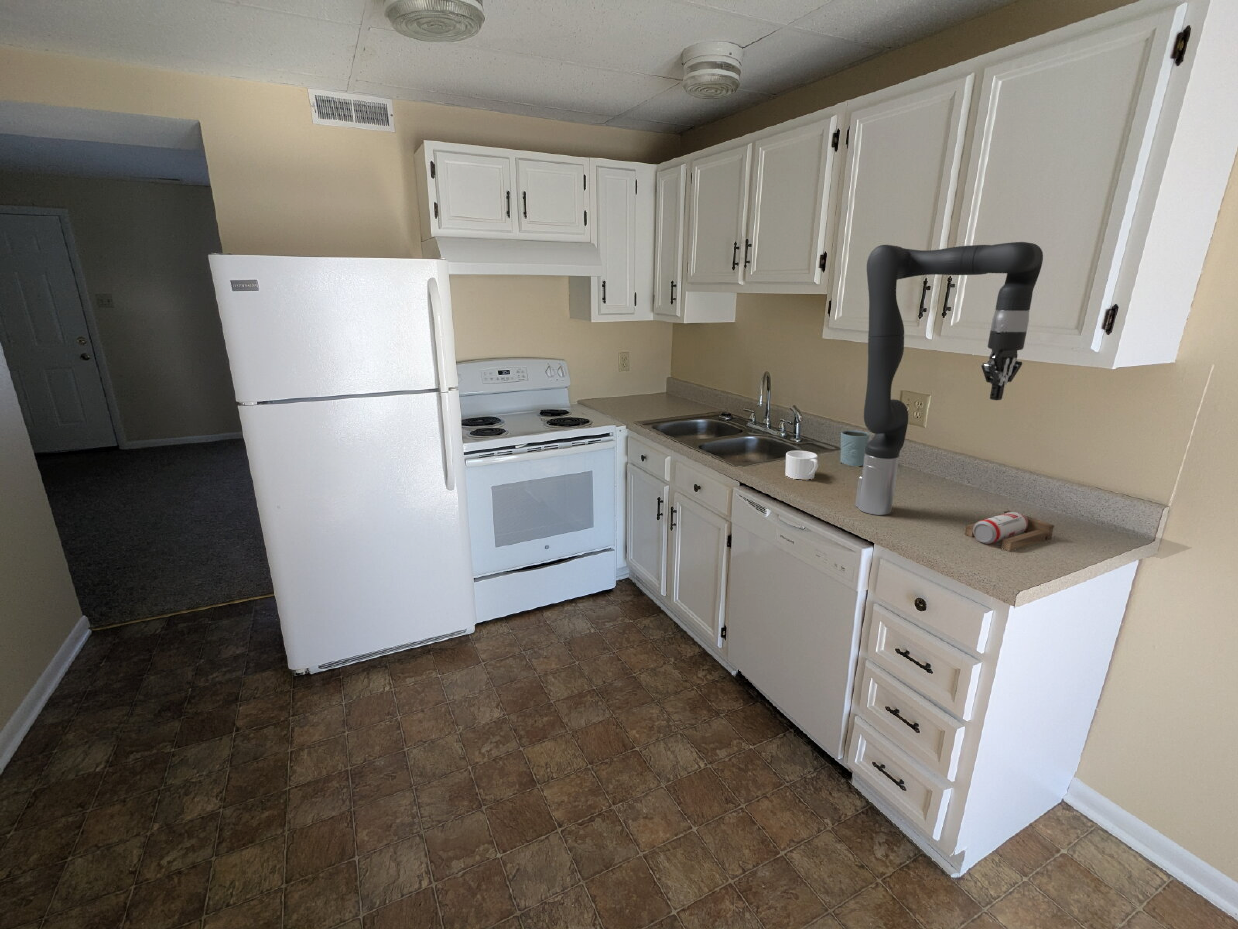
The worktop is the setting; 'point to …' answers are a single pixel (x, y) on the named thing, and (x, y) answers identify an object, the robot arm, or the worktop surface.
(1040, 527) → the cradle
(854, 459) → the teal cup
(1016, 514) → the beer can
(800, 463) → the mug
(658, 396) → the worktop surface
